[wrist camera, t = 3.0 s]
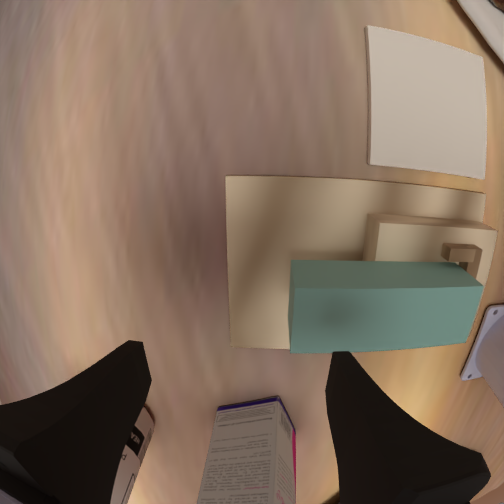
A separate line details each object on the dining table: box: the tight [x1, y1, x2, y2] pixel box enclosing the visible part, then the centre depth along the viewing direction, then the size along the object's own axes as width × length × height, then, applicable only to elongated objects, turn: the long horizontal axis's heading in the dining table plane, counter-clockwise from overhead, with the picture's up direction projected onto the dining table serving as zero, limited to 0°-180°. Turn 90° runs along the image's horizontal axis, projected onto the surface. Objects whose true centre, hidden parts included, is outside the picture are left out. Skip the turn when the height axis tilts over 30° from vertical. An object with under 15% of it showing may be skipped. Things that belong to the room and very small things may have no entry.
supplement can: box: [110, 406, 154, 504], centre depth 19 cm, size 8×8×15 cm
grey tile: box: [365, 25, 487, 180], centre depth 15 cm, size 9×9×1 cm
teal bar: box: [288, 260, 484, 353], centre depth 15 cm, size 10×4×4 cm, turn 90°
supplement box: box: [197, 396, 296, 504], centre depth 20 cm, size 6×6×11 cm
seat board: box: [226, 175, 498, 349], centre depth 18 cm, size 18×12×4 cm, turn 90°
